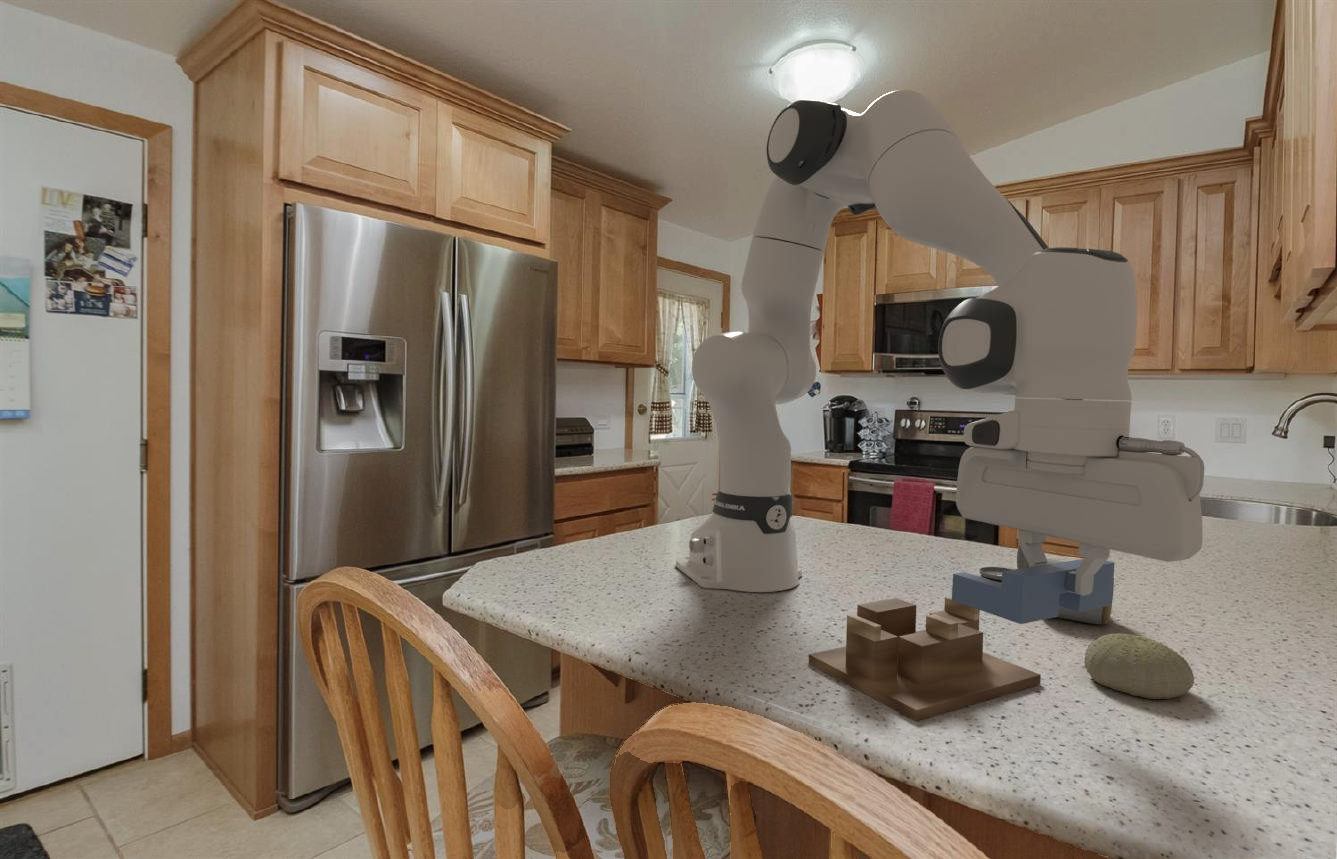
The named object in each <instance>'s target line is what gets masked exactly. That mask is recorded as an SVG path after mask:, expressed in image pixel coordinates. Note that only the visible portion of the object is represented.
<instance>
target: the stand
mask: <svg viewBox="0 0 1337 859" xmlns="http://www.w3.org/2000/svg"><path fill="white" fill-rule="evenodd" d="M856 610H857V612H856V614H853V613H852V614H848V615H846V632H845V634H846V635H845V637H846V638H845V640H846V641H845V646H841V647H837V648H832V649H828V650H822V651H818V652H813V653H809V654H808V664H810V665H811V666H813V667H815V668H816V669H819V670H821V671H822V672H823V673H826V674H828V675H830V676H831V677H834V678H836V679H838V680H839V681H841V682H843V683H845V684H847V685H848V686H850V687H852V688H855V689H856V690H857V691H860V692H861V693H863V694H865V695H867V696H870V697H871V698H873V699H875V700H877V701H879V702H880V703H882V704H884V705H885V706H887V707H888V708H889V707H890V708H892V709H893V710H895V711H897V712H899V713H901V714H902V715H904V716H905V717H908V718H910V719H912V720H913V721H916V722H917V721H921V720H925V719H927V718H931V717H933V716H937V715H942V714H945V713H948V712H952V711H955V710H957V709H961V708H965V707H968V706H971V705H974V704H978V703H982V702H985V701H988V700H991V699H995V698H998V697H1001V696H1004V695H1008V694H1011V693H1015V692H1018V691H1021V690H1024V689H1028V688H1032V687H1034V686H1035V687H1036V686H1039V685H1041V681H1042V680H1041V678H1042V674H1040V673H1038V672H1036V671H1033V670H1029V669H1027V668H1025V667H1022V666H1019V665H1017V664H1013V663H1011V662H1009V661H1006V660H1003V659H1001V658H999V657H996V656H994V655H991V654H987V653H986V652H983V650H984V649H983V648H984V647H983V646H984V632H983V631H980V617H981V616H980V613H981V612H980V611H981V610H978V609H975V608H973V607H970V606H967V605H964V604H961V603H958V602H955V601H952V596H945V597H944V609H943V610H939V611H934V612H929V615H926V616H925V629H923V630H917V629H916V628H917V604H915V603H911V602H909V601H906V600H903V599H900V598H896V597H894V598H887V599H884V600H883V599H882V600H878V601H871V602H865V603H860V604H857V608H856ZM916 630H917V631H916Z"/></svg>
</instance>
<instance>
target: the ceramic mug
mask: <svg viewBox="0 0 1337 859" xmlns="http://www.w3.org/2000/svg"><path fill="white" fill-rule="evenodd" d="M1046 559H1047V561H1048V562H1049V563H1060V562H1064V561H1062V560H1057V559H1052V558H1046ZM1114 580H1115V578H1114V579H1113V591H1114V590H1115V588H1114V587H1115V586H1114V585H1115V581H1114ZM1113 598H1114V593H1113V594H1112V601H1114V600H1113ZM1112 608H1113V604H1112V605H1110V606H1105V607H1101V608H1096V609H1091V610H1086V611H1082V612H1077V611H1074V610H1071V609H1067V608H1064V607H1061V606H1059V610H1058V617H1059V618H1058V617H1057V618H1058V619H1063V618H1064V619H1063V620H1069V619H1070V620H1069V621H1076V622H1080V623H1086V624H1090V625H1105V624H1107V623H1109V622H1110V619H1111V616H1112V615H1111V614H1112V610H1113V609H1112Z"/></svg>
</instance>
